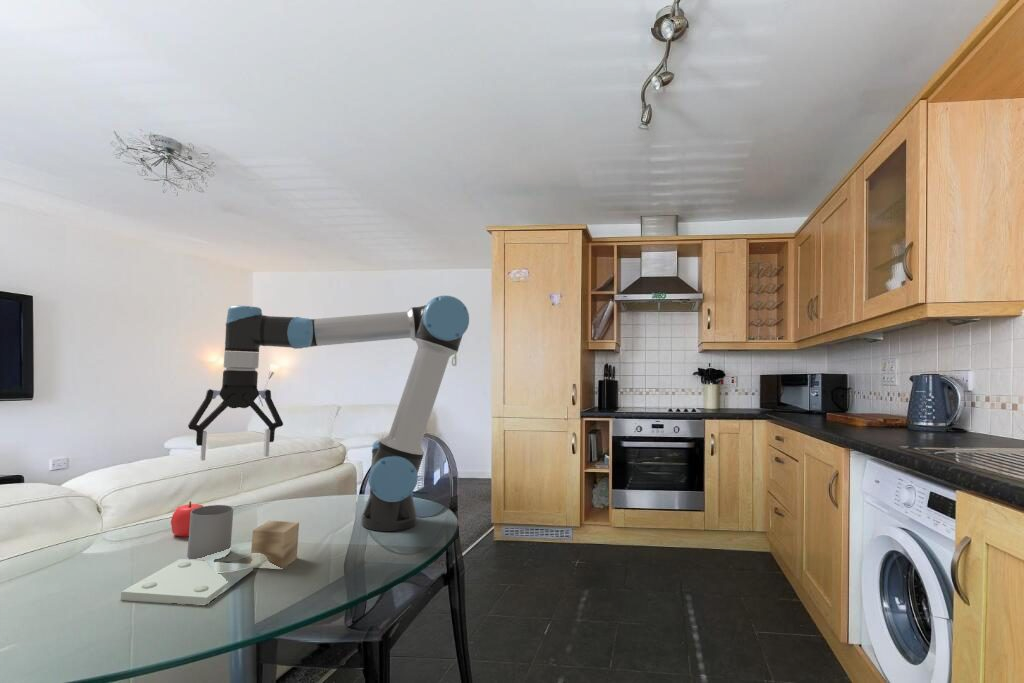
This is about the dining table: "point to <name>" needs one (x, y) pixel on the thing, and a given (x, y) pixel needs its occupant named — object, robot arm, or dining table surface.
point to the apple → (182, 519)
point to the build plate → (178, 584)
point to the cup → (209, 530)
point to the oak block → (276, 542)
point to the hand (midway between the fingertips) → (235, 457)
